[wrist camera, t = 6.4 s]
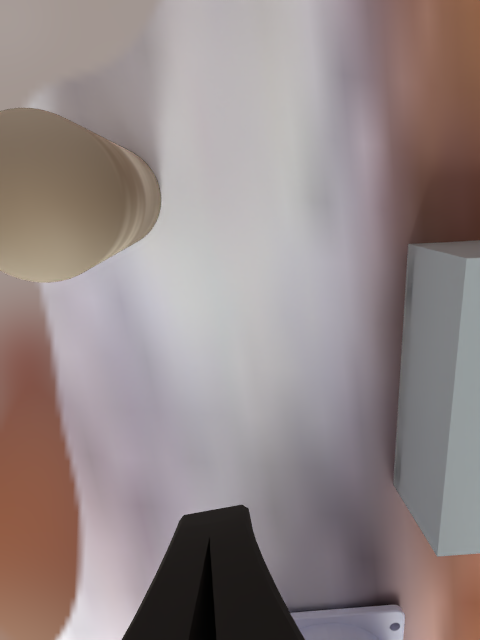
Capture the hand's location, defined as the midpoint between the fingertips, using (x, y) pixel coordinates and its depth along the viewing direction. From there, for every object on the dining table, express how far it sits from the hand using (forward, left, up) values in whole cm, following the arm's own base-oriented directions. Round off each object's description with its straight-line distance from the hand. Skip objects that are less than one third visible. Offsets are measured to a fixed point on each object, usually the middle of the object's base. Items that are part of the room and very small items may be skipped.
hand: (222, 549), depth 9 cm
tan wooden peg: (+7, +4, -10) cm, 12 cm away
